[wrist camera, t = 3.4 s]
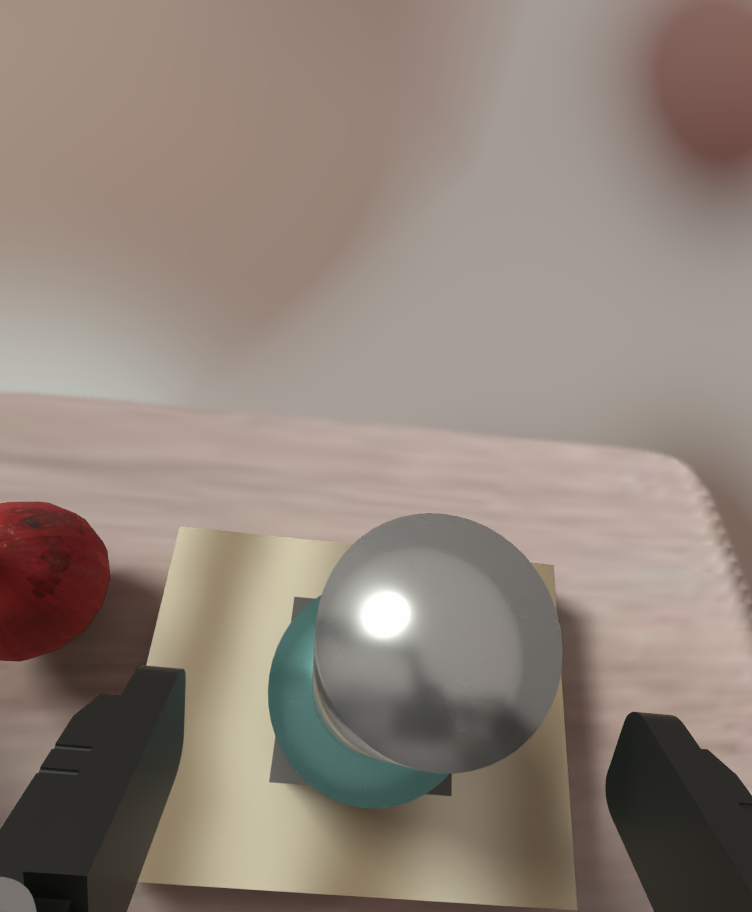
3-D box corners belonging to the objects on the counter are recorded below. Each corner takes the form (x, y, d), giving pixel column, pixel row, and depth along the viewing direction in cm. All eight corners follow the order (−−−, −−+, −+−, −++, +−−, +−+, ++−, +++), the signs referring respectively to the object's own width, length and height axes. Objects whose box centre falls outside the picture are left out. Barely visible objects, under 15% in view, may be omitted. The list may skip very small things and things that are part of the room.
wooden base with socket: (121, 861, 21) (43, 912, 15) (192, 548, 26) (157, 488, 20) (544, 890, 22) (638, 948, 16) (529, 582, 27) (594, 535, 21)
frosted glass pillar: (265, 784, 20) (182, 870, 7) (289, 609, 23) (265, 426, 9) (435, 797, 20) (675, 903, 7) (439, 623, 23) (617, 467, 10)
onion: (83, 511, 27) (2, 428, 20) (158, 602, 25) (100, 547, 18) (-39, 598, 24) (-181, 539, 17) (35, 702, 23) (-86, 685, 16)
